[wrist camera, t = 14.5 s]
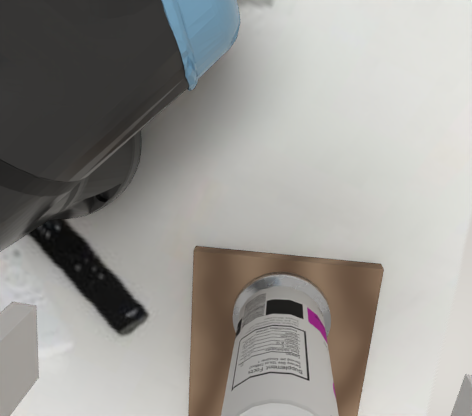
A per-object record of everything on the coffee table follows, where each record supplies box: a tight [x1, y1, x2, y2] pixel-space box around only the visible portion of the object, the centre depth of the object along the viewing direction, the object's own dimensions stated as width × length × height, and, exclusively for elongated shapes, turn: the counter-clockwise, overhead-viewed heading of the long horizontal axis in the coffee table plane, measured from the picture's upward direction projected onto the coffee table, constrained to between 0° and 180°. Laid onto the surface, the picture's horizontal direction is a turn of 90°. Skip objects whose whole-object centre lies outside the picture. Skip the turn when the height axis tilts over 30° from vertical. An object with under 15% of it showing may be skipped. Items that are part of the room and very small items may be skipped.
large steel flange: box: [233, 272, 331, 337], centre depth 43 cm, size 10×10×1 cm
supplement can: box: [221, 286, 339, 416], centre depth 36 cm, size 8×8×15 cm
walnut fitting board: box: [189, 246, 384, 416], centre depth 46 cm, size 18×24×1 cm
